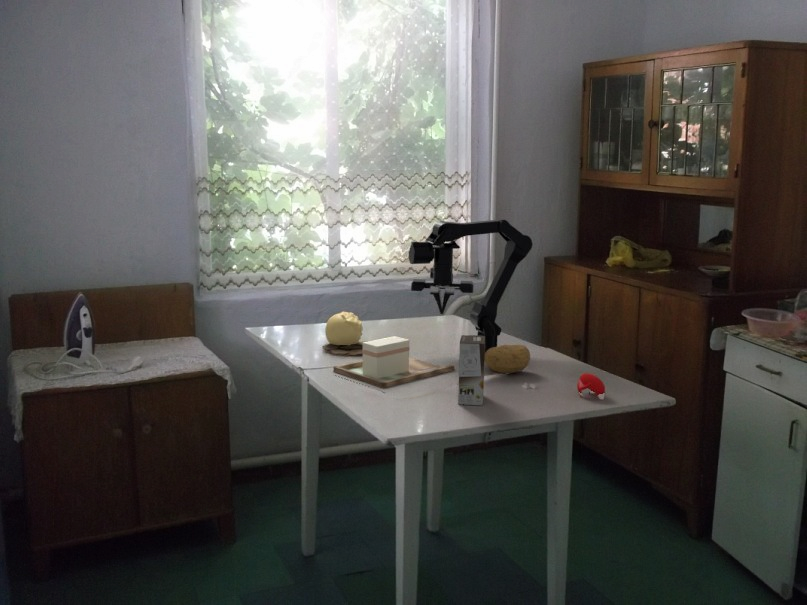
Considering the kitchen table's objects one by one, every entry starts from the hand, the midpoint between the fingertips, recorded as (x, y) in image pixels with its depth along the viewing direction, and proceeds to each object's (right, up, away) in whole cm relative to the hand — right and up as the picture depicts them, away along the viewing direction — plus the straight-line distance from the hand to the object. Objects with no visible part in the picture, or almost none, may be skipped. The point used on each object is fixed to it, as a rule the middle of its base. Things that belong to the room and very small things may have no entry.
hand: (441, 313), depth 256 cm
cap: (+37, -21, -37) cm, 57 cm away
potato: (+18, -17, -16) cm, 29 cm away
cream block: (-17, -16, -22) cm, 32 cm away
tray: (-14, -17, -19) cm, 29 cm away
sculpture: (-31, -10, +14) cm, 36 cm away
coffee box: (+6, -22, -42) cm, 47 cm away
